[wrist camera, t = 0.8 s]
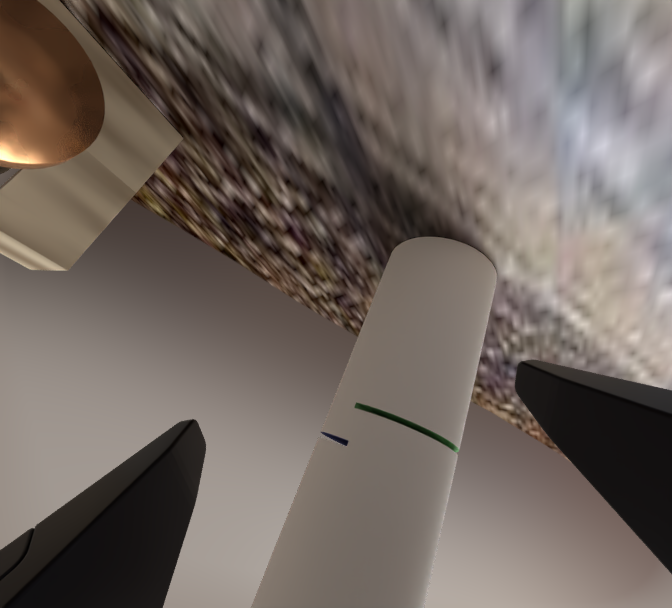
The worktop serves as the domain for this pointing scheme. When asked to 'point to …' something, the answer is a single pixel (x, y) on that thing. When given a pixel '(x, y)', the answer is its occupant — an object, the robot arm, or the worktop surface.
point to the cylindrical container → (388, 440)
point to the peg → (44, 89)
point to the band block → (85, 171)
